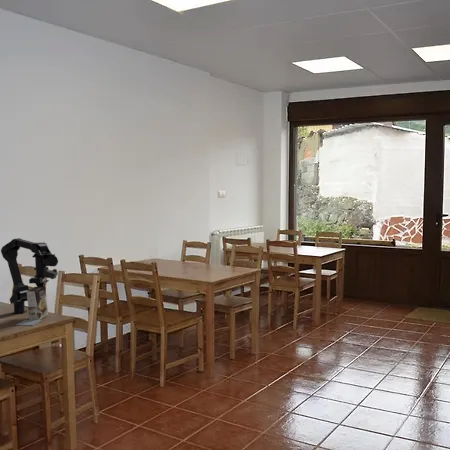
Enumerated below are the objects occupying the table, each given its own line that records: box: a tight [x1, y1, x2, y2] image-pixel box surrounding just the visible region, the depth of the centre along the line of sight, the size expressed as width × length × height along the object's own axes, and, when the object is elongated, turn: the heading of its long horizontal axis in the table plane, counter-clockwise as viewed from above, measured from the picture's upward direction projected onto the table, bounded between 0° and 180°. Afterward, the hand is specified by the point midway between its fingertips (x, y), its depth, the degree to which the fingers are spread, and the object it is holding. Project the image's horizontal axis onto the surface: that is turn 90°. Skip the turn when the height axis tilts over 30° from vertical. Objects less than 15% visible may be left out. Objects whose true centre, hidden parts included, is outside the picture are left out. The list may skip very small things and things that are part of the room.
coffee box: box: [27, 286, 49, 320], centre depth 293 cm, size 9×6×16 cm
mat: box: [15, 319, 43, 327], centre depth 283 cm, size 11×9×1 cm
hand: (42, 293), depth 299 cm, fingers closed
